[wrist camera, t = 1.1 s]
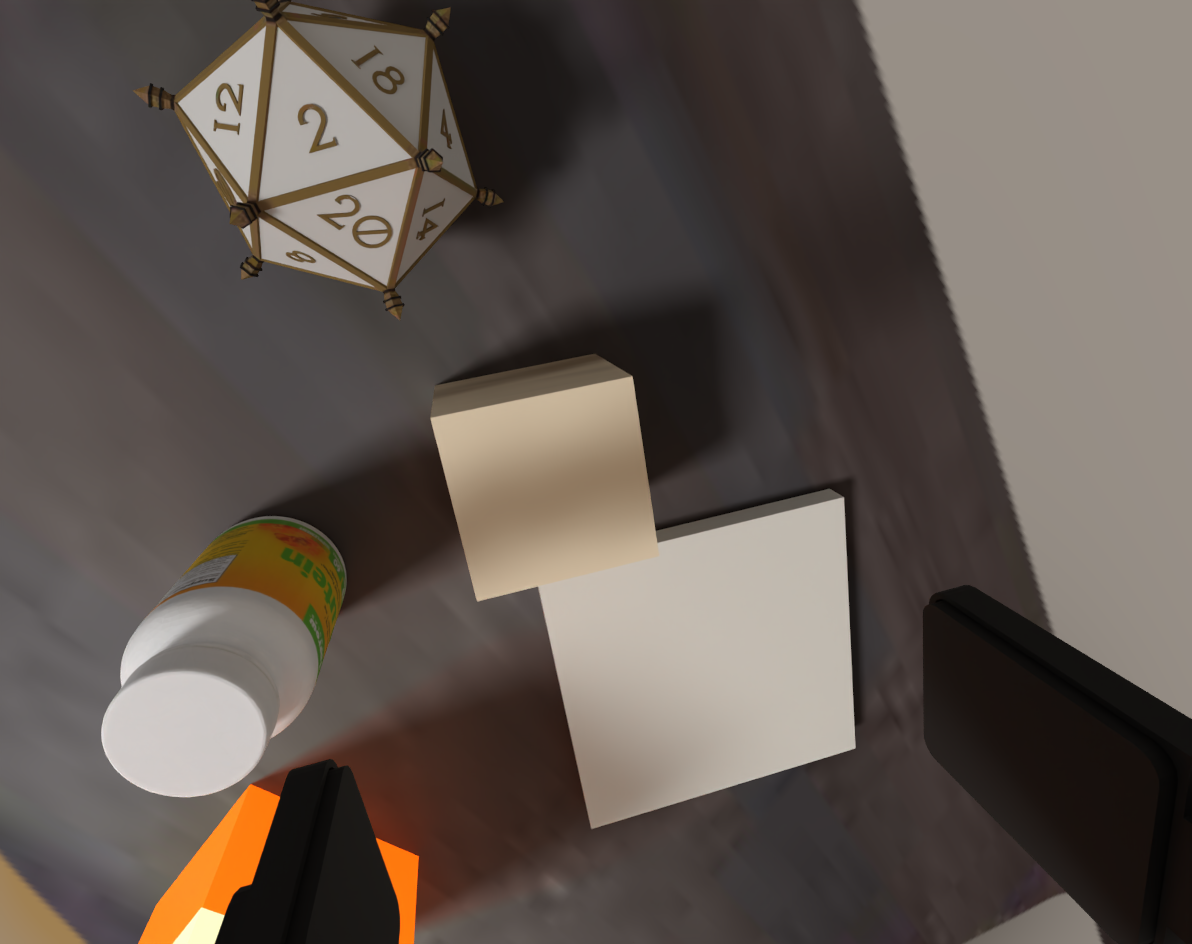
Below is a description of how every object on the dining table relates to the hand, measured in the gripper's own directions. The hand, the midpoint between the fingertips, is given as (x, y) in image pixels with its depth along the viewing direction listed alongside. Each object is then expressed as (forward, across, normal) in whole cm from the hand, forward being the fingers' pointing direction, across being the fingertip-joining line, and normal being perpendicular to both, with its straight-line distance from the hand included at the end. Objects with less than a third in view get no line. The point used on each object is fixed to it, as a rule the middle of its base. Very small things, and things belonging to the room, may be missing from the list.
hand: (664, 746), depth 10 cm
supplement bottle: (+18, +11, +3) cm, 21 cm away
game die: (+18, +4, -11) cm, 22 cm away
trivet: (+18, -6, +12) cm, 22 cm away
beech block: (+18, 0, 0) cm, 18 cm away
